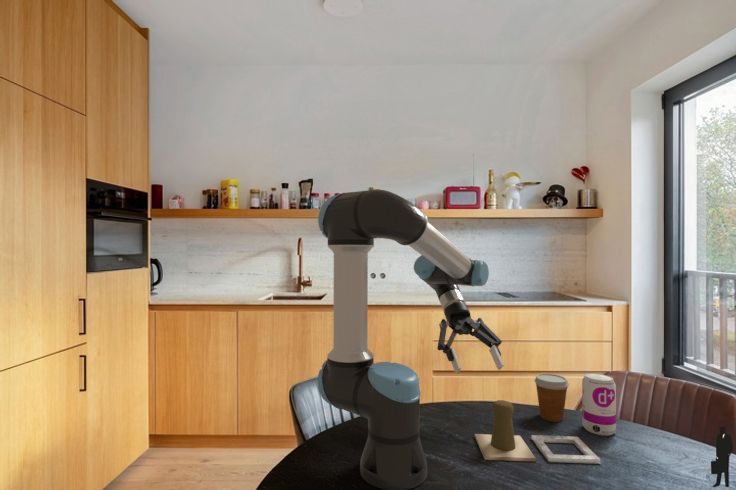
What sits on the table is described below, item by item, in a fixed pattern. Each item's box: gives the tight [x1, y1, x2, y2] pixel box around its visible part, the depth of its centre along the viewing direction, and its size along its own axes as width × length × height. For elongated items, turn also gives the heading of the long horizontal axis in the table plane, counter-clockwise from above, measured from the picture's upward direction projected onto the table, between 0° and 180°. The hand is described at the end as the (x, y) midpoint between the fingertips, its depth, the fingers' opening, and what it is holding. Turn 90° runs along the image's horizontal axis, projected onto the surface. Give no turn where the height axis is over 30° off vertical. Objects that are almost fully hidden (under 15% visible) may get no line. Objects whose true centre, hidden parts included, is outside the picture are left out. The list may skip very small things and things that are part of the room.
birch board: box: [474, 433, 537, 462], centre depth 103 cm, size 12×12×1 cm
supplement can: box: [581, 372, 617, 437], centre depth 114 cm, size 8×8×15 cm
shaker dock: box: [530, 434, 601, 465], centre depth 102 cm, size 12×12×1 cm
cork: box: [491, 399, 516, 451], centre depth 103 cm, size 6×6×11 cm
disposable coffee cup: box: [534, 373, 570, 423], centre depth 123 cm, size 10×10×12 cm
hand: (480, 369), depth 114 cm, fingers open, 13 cm apart
